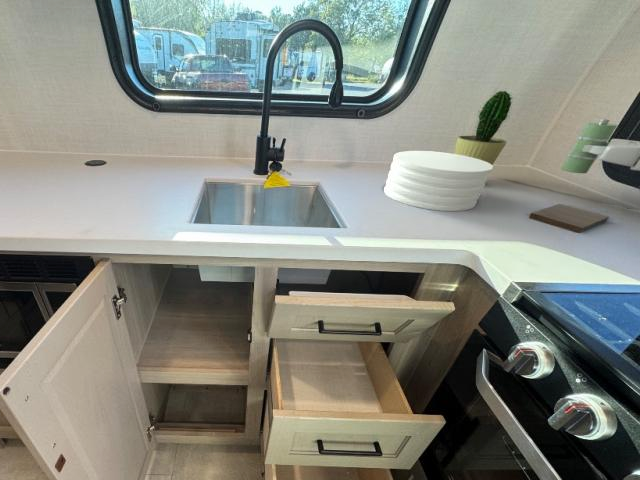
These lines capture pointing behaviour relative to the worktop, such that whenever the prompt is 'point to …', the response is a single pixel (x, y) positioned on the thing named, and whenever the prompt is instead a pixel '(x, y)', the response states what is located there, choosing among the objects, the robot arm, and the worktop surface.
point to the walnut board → (569, 217)
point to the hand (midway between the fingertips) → (584, 146)
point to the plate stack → (436, 180)
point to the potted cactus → (487, 130)
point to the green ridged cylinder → (591, 136)
